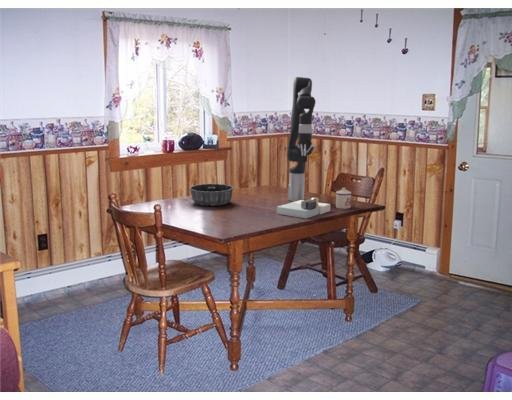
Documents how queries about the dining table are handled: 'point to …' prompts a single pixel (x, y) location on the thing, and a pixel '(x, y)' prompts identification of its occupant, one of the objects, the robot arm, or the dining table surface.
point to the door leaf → (296, 211)
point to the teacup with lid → (343, 199)
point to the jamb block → (321, 206)
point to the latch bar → (304, 203)
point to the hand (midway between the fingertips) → (304, 162)
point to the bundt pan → (211, 194)
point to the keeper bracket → (311, 205)
